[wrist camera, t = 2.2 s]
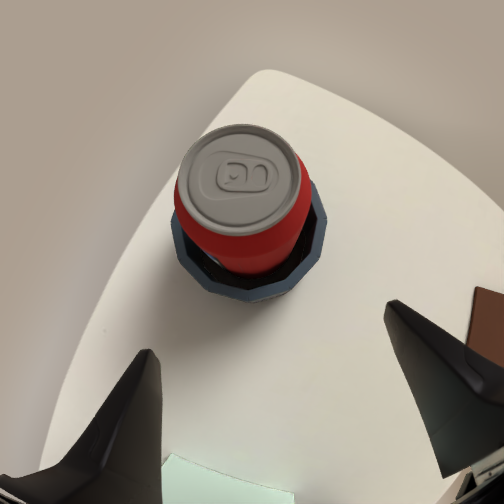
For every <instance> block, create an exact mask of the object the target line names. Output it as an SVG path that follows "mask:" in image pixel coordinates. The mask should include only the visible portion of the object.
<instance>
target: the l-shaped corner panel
mask: <svg viewBox="0 0 504 504" xmlns="http://www.w3.org/2000/svg"><path fill="white" fill-rule="evenodd" d="M161 473H162V500H163V504H295V501H294V494H293V493H290V492H285V491H281V490H276V489H272V488H268V487H264V486H260V485H257V484H253V483H250V482H246V481H243V480H240V479H236V478H233V477H230V476H227V475H224V474H221V473H219V472H216V471H213V470H210V469H208V468H205V467H203V466H200V465H198V464H195V463H193V462H190V461H188V460H186V459H183V458H181V457H179V456H176V455H174V454H172V453H171V455H170V456H169V458H168V459H167V460H166V462H165V463H164V465H163V466H162V467H161Z"/></svg>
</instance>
